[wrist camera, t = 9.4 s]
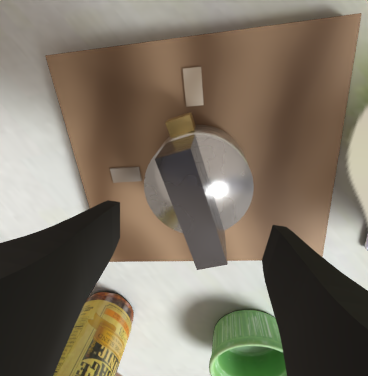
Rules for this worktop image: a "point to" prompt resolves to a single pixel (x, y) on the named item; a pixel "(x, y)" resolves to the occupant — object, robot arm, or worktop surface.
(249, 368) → the ramekin
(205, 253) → the silver rounded piece
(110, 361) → the sauce bottle
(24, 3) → the worktop surface
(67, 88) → the baseplate
